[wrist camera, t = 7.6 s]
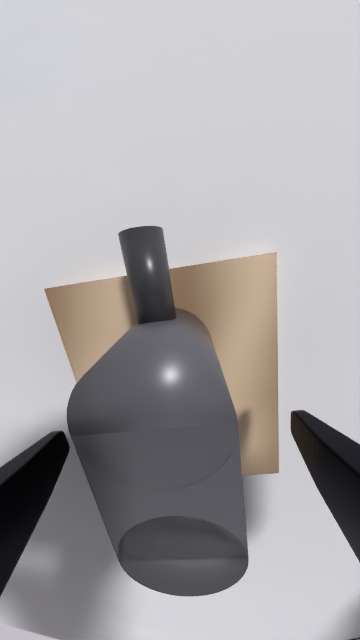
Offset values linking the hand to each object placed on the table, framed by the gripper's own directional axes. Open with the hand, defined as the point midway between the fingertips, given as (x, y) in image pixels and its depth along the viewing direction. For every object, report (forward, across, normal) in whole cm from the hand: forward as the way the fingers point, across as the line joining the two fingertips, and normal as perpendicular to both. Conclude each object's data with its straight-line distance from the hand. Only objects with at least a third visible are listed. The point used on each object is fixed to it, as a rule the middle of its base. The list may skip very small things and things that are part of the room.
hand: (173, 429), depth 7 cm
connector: (+2, 0, 0) cm, 2 cm away
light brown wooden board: (+3, 0, 0) cm, 3 cm away
